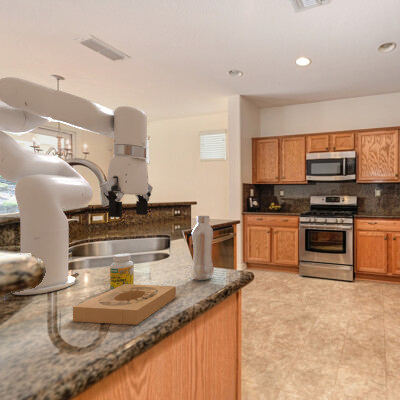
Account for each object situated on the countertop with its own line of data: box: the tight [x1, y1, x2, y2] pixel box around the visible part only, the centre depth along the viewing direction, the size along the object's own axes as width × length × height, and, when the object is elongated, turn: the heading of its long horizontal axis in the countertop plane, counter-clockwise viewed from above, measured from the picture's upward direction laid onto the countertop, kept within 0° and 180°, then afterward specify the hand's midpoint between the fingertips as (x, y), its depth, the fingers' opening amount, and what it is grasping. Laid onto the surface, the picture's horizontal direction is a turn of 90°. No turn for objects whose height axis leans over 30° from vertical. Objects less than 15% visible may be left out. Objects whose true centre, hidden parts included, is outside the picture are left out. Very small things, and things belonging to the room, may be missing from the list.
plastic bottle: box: [191, 215, 215, 281], centre depth 80 cm, size 6×7×20 cm
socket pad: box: [72, 284, 177, 326], centre depth 59 cm, size 14×14×3 cm
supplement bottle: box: [109, 253, 135, 291], centre depth 70 cm, size 5×5×10 cm
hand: (129, 215), depth 70 cm, fingers open, 9 cm apart
